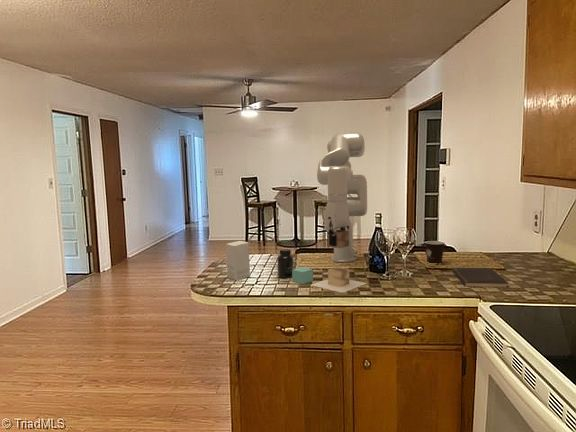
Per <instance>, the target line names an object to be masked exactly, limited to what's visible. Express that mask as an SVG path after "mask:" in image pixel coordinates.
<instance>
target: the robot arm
mask: <svg viewBox="0 0 576 432" xmlns="http://www.w3.org/2000/svg"><path fill="white" fill-rule="evenodd" d="M365 146H366V145H365V138H364V136H363V135H362V134H361V133H360V132H340V133H336V134H334V135H333V137H332V138H331V140H329V141H328V142H327V145H326V147H327V148H326V149H327V154H325V155H324V156H322V158H320V160H319V162H318V166H317V173H316V174H317V175H316V178H317V182H318V183H319V184H321V185H325V186H326V185H327V203H326V205H325V206H326V207H325V215H324V216H325V217H324V224H325V225H324V230H325V231H326V233H328V235H329V245H330V246H336V236H335V234H336V230H346V231H349V246H347V247H343V248H334V247H333V255H332V256H331V257H330V260H331V261H332V262H335V263H351V262H356V260H357V257H356V256H355V254H358V253H359V251H358V249H354V230H353V229H354V227H353V223H352V221H351V220H350V217H364V216H366V215H367V213H368V181H367V178H366V177H365V175H363V174H354V173H353V172H354V171H353V170H352V164H351V162H350V158H361V157H363V156H364V154H365V149H366V148H365ZM348 195H356V196H348ZM332 230H333V231H332Z"/></svg>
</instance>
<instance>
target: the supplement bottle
mask: <svg viewBox="0 0 576 432" xmlns="http://www.w3.org/2000/svg"><path fill="white" fill-rule="evenodd" d="M291 251H292V250H291V249H290V248H282V249H281V248H280V249H279V255H278V257H277V277H278V278H280V279H291V278H292V270H293V269H294V257H293V256H292V255H291V254H292V252H291Z"/></svg>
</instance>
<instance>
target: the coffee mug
mask: <svg viewBox="0 0 576 432" xmlns="http://www.w3.org/2000/svg"><path fill="white" fill-rule="evenodd" d="M422 249H423V251H424V253H425V254H426V262H429V263H438V264H439V263H442V262H443V256H444V249H445V242H444V241H440V240H439V241H438V240H427V241H425V242H424V243H423V244H422Z"/></svg>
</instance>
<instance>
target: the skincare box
mask: <svg viewBox="0 0 576 432" xmlns="http://www.w3.org/2000/svg"><path fill="white" fill-rule="evenodd" d="M249 245H250V242H248V241H243V240H238V241H232V242H229V243H225V249H226V253H225V254H226V269H227V270H226V271H227V279H229V280H233V281H238V280H243V279H246V278H249V277H250V276H251V271H250V270H251V268H250V267H251V265H250V246H249Z"/></svg>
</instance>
